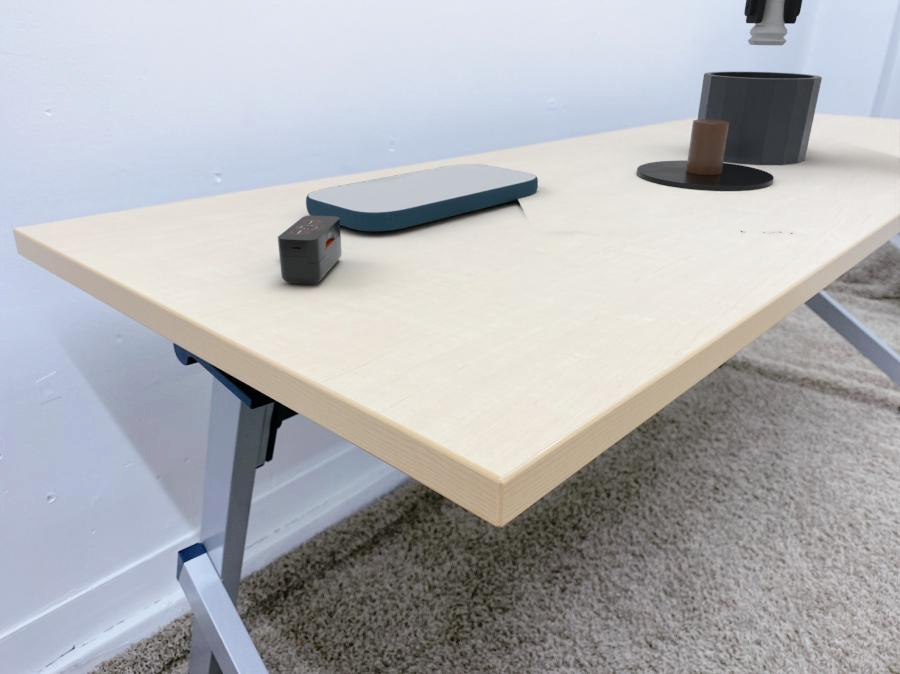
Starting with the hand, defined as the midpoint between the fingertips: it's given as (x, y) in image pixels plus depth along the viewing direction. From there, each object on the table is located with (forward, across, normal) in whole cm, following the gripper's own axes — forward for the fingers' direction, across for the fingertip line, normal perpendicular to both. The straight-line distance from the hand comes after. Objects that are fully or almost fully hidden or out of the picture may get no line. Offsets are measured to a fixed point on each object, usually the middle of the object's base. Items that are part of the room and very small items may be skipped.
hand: (770, 21), depth 86 cm
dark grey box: (+17, -51, -44) cm, 69 cm away
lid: (+16, -11, -14) cm, 24 cm away
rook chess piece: (+3, 0, 0) cm, 3 cm away
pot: (+17, 0, 0) cm, 17 cm away
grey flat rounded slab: (+17, -42, -25) cm, 52 cm away
